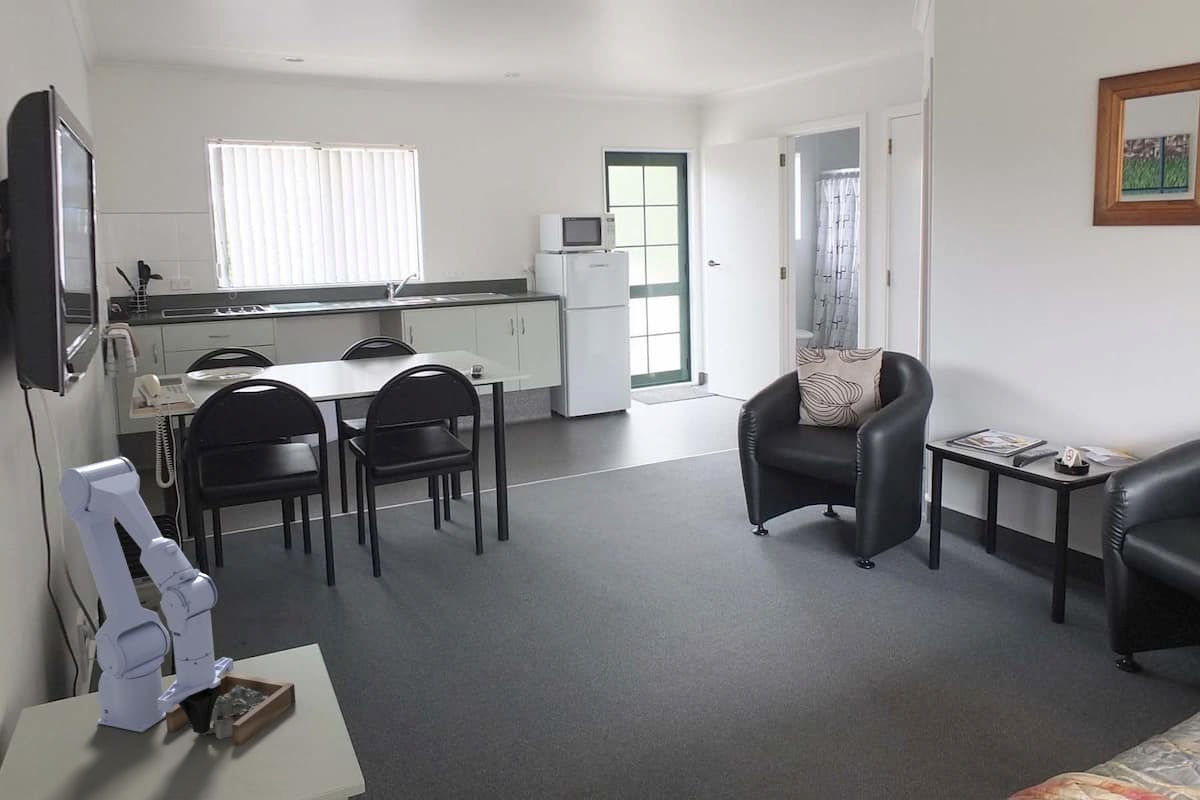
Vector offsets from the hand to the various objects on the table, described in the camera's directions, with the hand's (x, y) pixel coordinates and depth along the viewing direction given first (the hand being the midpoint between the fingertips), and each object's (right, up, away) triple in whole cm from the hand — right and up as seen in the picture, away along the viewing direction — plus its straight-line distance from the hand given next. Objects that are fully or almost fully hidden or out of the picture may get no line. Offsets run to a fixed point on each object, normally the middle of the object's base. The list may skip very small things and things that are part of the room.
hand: (201, 731), depth 148 cm
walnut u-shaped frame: (+2, 0, +7) cm, 7 cm away
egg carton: (+3, -1, +6) cm, 7 cm away
